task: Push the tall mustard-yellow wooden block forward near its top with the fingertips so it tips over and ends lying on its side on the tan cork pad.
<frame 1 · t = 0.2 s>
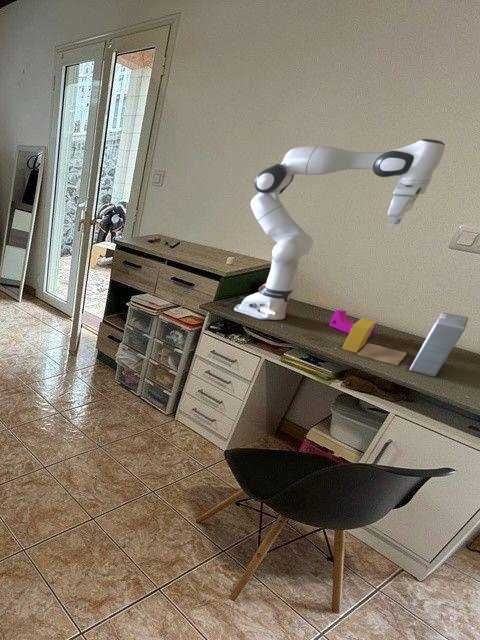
hand: (393, 225, 168), 47 cm above the table, tool pointing down, fingers open, 8 cm apart
hard drive box: (424, 367, 165), on the table
magenta u-shaped bracket: (349, 331, 195), on the table
cork pad: (381, 354, 175), on the table
yellow block: (353, 346, 182), on the table
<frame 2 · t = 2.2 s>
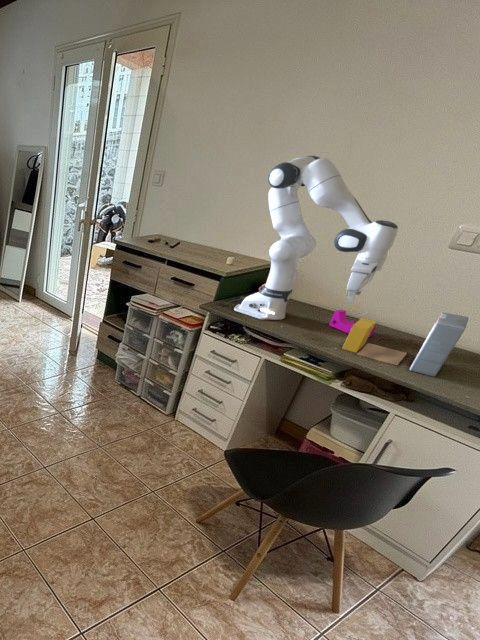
hand: (353, 297, 176), 20 cm above the table, tool pointing down, fingers open, 8 cm apart
nothing on the table moved.
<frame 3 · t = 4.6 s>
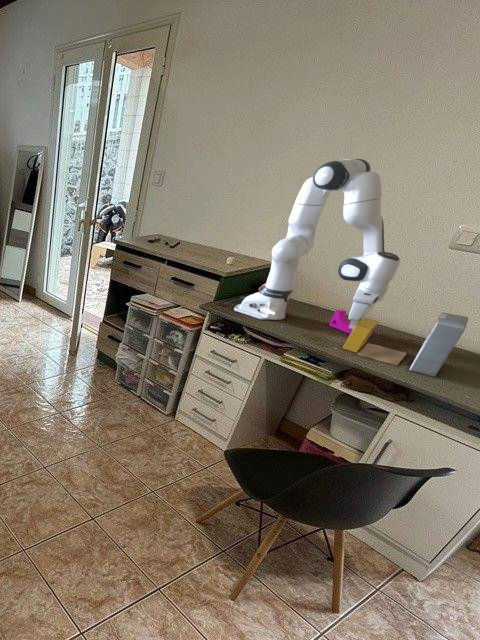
hand: (355, 325, 179), 9 cm above the table, tool pointing down, fingers open, 8 cm apart
yellow block: (353, 346, 182), on the table, touching gripper
everything else where it was.
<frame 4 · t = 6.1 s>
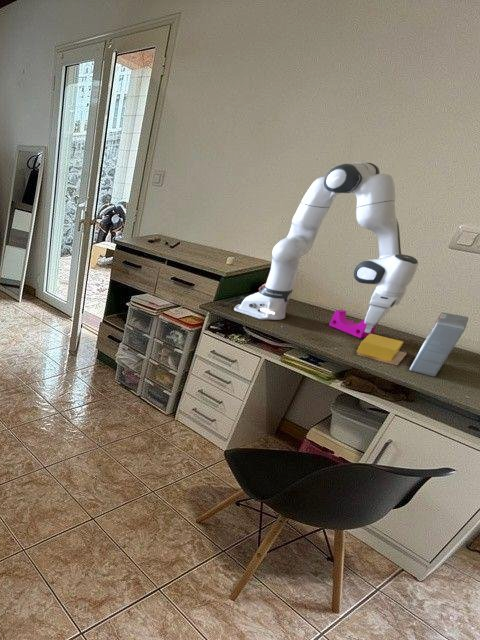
hand: (370, 328, 175), 9 cm above the table, tool pointing down, fingers open, 8 cm apart
yellow block: (363, 342, 179), point 3 cm above the table, tilted 90°, touching cork pad
everything else where it was.
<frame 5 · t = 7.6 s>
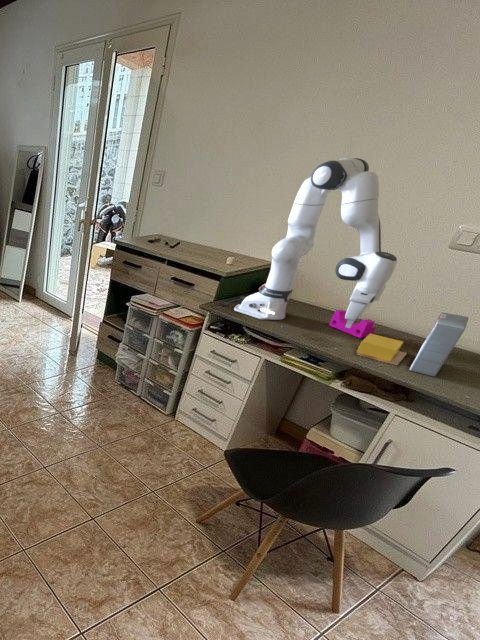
hand: (351, 324, 180), 9 cm above the table, tool pointing down, fingers open, 8 cm apart
nothing on the table moved.
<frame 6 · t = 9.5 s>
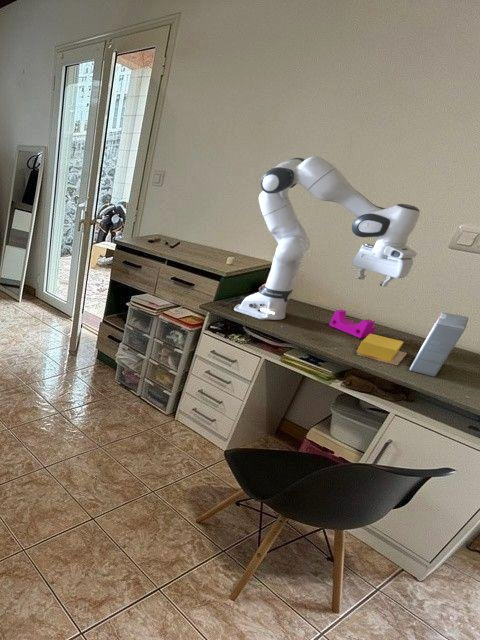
hand: (371, 282, 174), 26 cm above the table, tool pointing down, fingers open, 8 cm apart
nothing on the table moved.
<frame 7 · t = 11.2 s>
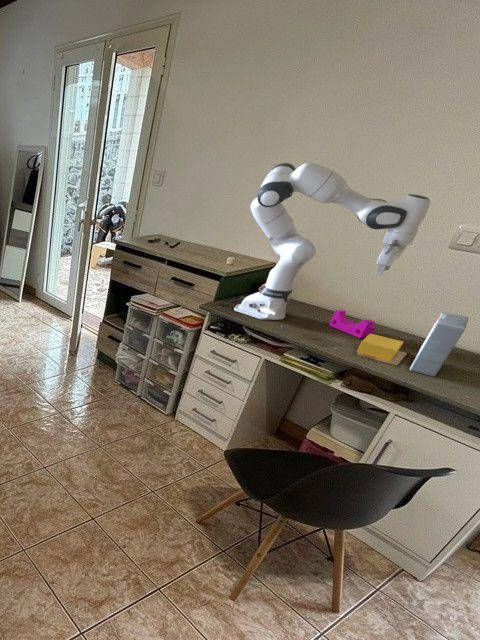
hand: (382, 272, 176), 29 cm above the table, tool pointing down, fingers open, 8 cm apart
nothing on the table moved.
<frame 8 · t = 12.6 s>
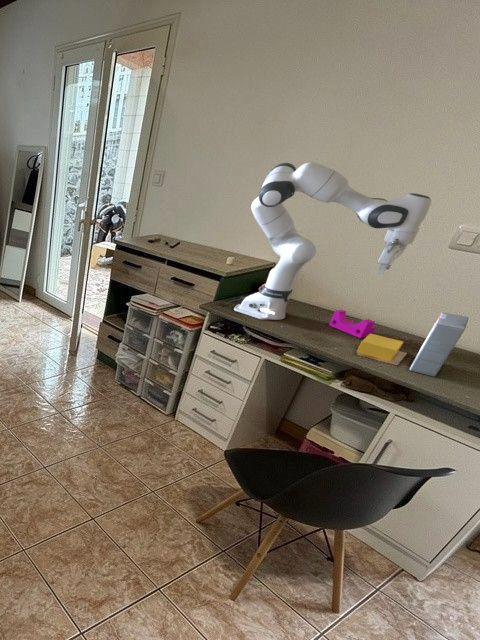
hand: (383, 271, 177), 29 cm above the table, tool pointing down, fingers open, 8 cm apart
nothing on the table moved.
at the end: yellow block tilted 90°; yellow block touching cork pad; yellow block inside the target area (2.1 cm from its centre), point 2.8 cm above the table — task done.
